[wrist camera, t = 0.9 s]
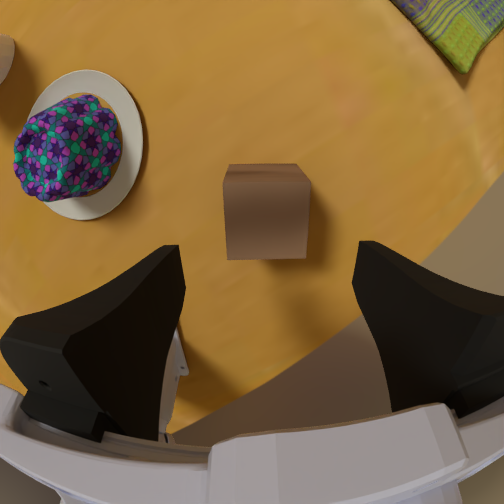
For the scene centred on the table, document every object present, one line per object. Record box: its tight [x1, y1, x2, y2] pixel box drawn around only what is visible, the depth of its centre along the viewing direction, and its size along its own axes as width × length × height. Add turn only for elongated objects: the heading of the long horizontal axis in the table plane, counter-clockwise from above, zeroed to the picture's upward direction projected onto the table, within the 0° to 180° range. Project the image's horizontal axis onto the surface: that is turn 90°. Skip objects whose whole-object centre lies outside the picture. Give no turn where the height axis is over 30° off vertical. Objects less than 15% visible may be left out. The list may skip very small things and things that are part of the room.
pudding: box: [14, 70, 143, 220], centre depth 15 cm, size 12×12×5 cm
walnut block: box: [223, 164, 311, 260], centre depth 17 cm, size 4×4×5 cm
